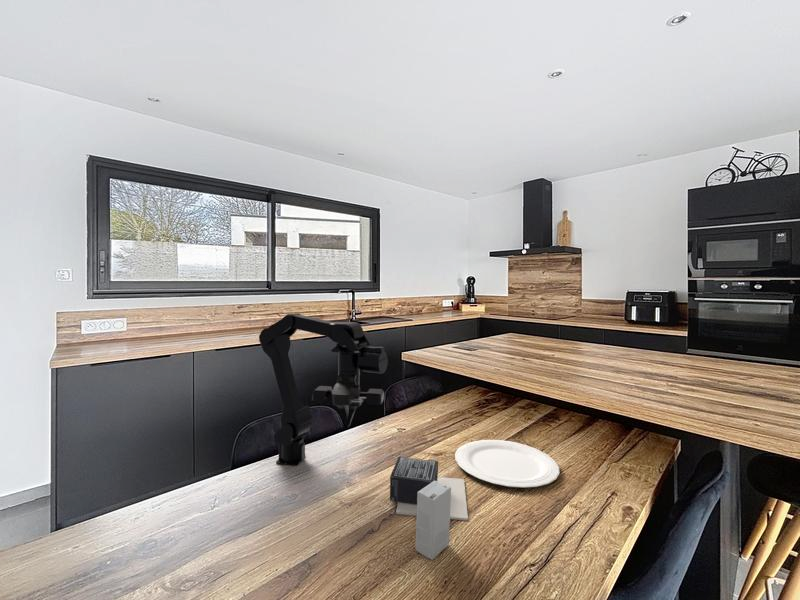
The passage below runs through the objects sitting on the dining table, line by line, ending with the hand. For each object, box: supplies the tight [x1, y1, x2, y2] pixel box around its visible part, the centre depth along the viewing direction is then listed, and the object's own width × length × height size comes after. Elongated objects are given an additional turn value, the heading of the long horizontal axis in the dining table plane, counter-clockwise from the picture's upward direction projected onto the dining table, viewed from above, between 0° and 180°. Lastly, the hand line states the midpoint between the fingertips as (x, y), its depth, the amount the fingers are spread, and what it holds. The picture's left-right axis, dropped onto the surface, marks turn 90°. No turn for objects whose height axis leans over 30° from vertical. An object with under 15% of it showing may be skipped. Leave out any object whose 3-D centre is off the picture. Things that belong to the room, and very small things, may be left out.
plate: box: [454, 439, 560, 489], centre depth 110 cm, size 29×29×2 cm
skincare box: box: [414, 481, 451, 561], centre depth 74 cm, size 6×4×12 cm
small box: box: [389, 456, 439, 504], centre depth 93 cm, size 11×6×10 cm
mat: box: [395, 476, 469, 522], centre depth 93 cm, size 16×17×1 cm
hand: (348, 426), depth 102 cm, fingers closed
